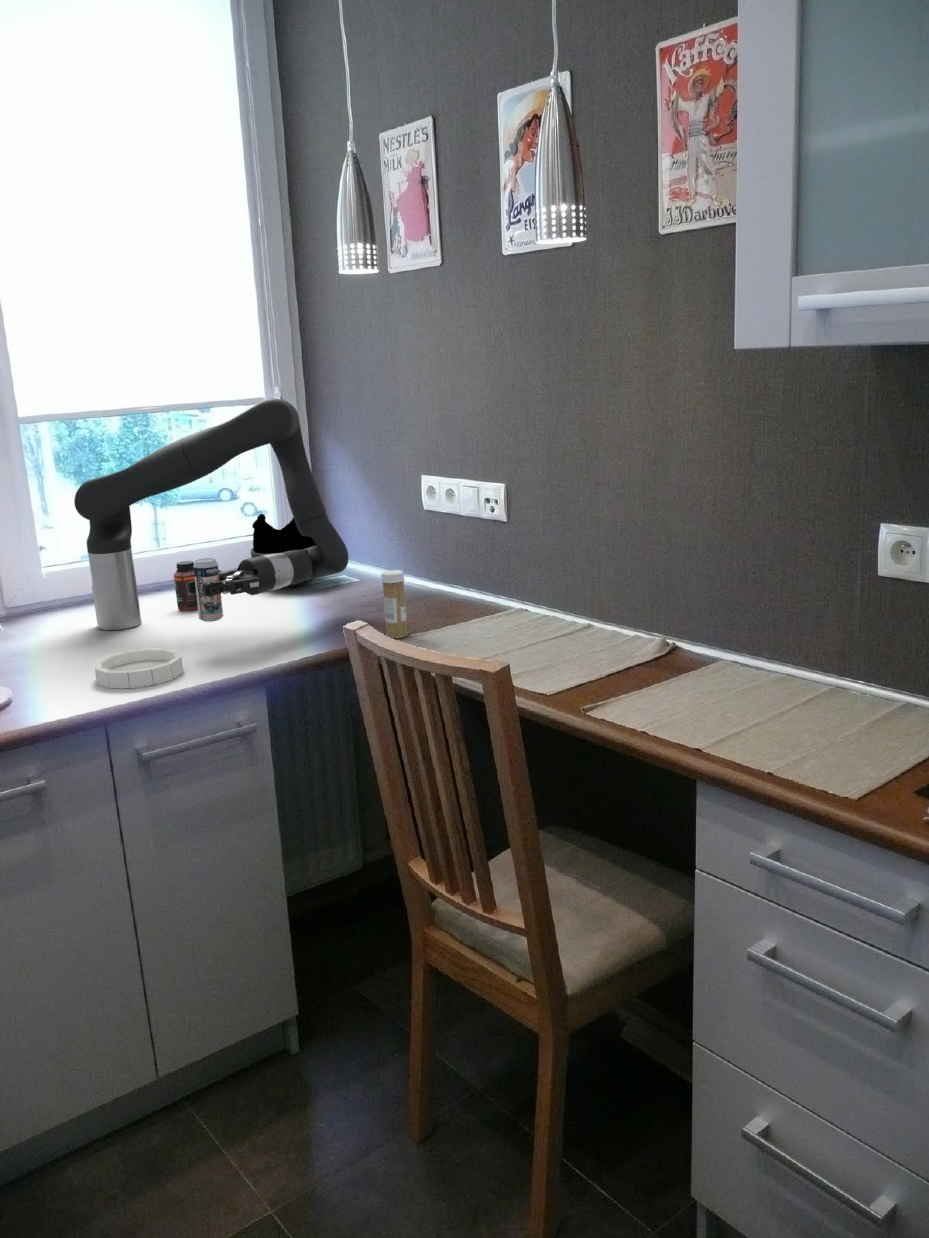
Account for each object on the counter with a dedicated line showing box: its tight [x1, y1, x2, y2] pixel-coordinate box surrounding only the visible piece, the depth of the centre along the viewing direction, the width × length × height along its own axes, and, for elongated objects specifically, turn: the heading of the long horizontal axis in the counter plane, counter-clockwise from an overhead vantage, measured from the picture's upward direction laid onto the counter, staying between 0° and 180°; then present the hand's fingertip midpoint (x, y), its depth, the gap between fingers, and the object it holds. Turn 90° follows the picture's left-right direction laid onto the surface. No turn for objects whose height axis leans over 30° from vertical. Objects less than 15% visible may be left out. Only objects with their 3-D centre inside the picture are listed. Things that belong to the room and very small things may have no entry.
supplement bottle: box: [173, 560, 198, 612], centre depth 243 cm, size 6×6×11 cm
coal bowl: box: [250, 513, 316, 588], centre depth 261 cm, size 20×20×19 cm
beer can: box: [193, 557, 224, 623], centre depth 204 cm, size 5×5×12 cm
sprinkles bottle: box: [380, 569, 409, 640], centre depth 209 cm, size 5×5×13 cm
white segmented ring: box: [94, 648, 184, 690], centre depth 193 cm, size 15×15×3 cm
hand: (196, 589), depth 202 cm, fingers closed on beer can, 4 cm apart
